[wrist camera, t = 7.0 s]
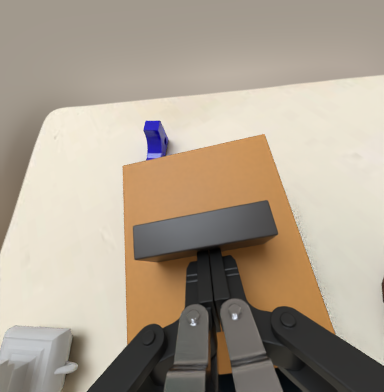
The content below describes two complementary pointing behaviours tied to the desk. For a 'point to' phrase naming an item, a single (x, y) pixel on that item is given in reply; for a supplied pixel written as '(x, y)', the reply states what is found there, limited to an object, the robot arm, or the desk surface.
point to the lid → (213, 233)
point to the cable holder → (155, 139)
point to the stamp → (35, 359)
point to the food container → (383, 288)
